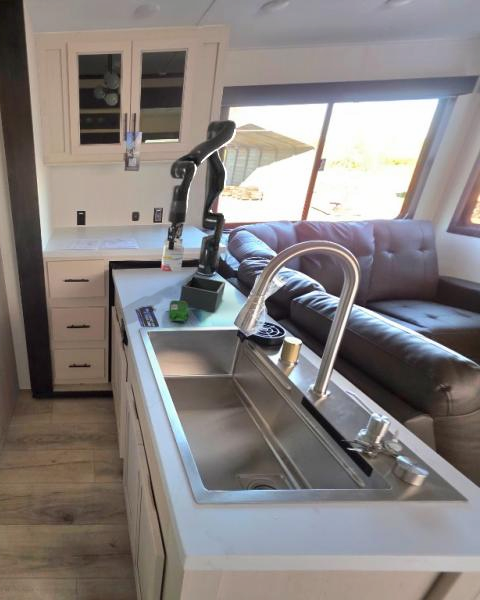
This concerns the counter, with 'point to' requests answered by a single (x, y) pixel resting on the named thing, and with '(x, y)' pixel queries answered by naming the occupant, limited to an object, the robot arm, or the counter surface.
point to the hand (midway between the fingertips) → (173, 247)
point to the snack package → (178, 311)
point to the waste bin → (202, 293)
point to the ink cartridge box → (172, 256)
